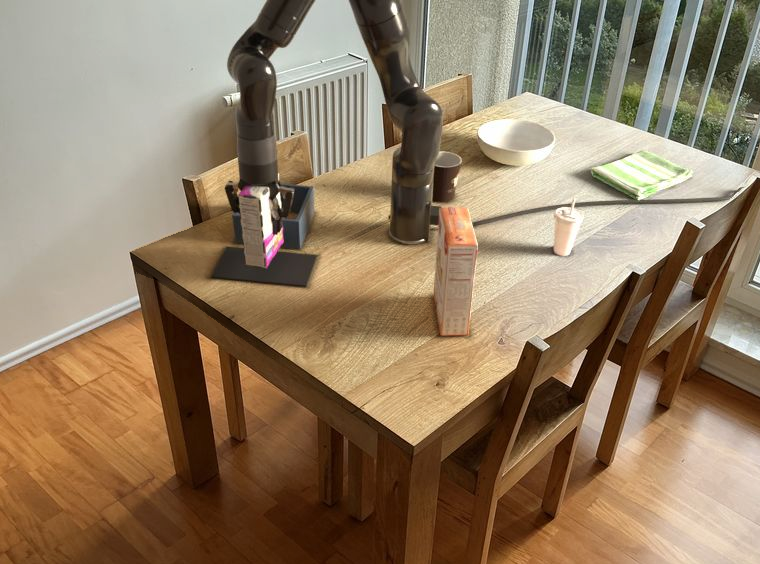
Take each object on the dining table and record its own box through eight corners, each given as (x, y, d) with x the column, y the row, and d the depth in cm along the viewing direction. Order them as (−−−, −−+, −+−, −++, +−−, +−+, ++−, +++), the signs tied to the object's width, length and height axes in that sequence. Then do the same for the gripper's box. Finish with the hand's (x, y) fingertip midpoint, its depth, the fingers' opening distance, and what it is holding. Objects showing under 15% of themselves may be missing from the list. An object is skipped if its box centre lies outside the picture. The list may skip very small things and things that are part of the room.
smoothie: (558, 261, 179) (569, 205, 171) (542, 247, 184) (552, 192, 175) (581, 255, 182) (593, 200, 173) (565, 241, 186) (576, 187, 178)
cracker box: (431, 295, 166) (438, 205, 153) (460, 295, 167) (469, 205, 154) (438, 337, 155) (446, 243, 142) (468, 336, 156) (479, 244, 143)
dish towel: (693, 179, 216) (696, 169, 214) (638, 202, 204) (641, 192, 202) (640, 154, 226) (642, 145, 224) (585, 175, 214) (587, 166, 212)
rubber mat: (317, 256, 175) (317, 255, 175) (306, 287, 166) (306, 285, 166) (226, 247, 176) (226, 246, 176) (210, 278, 167) (210, 276, 166)
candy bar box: (262, 238, 174) (257, 168, 163) (284, 242, 173) (280, 172, 163) (243, 265, 165) (236, 193, 155) (266, 269, 164) (261, 197, 154)
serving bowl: (500, 135, 231) (502, 112, 227) (564, 156, 222) (568, 133, 218) (460, 158, 218) (462, 134, 213) (527, 182, 209) (530, 158, 204)
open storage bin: (314, 213, 190) (313, 186, 186) (300, 249, 177) (299, 221, 173) (253, 207, 191) (251, 180, 186) (234, 243, 178) (232, 215, 173)
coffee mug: (439, 208, 195) (442, 170, 189) (416, 194, 200) (418, 157, 194) (473, 195, 202) (478, 158, 195) (450, 182, 207) (454, 145, 200)
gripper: (215, 160, 152) (223, 237, 163) (290, 167, 152) (293, 244, 162) (226, 143, 158) (233, 219, 169) (298, 150, 158) (301, 225, 168)
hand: (262, 231), depth 166 cm, fingers closed on candy bar box, 5 cm apart
